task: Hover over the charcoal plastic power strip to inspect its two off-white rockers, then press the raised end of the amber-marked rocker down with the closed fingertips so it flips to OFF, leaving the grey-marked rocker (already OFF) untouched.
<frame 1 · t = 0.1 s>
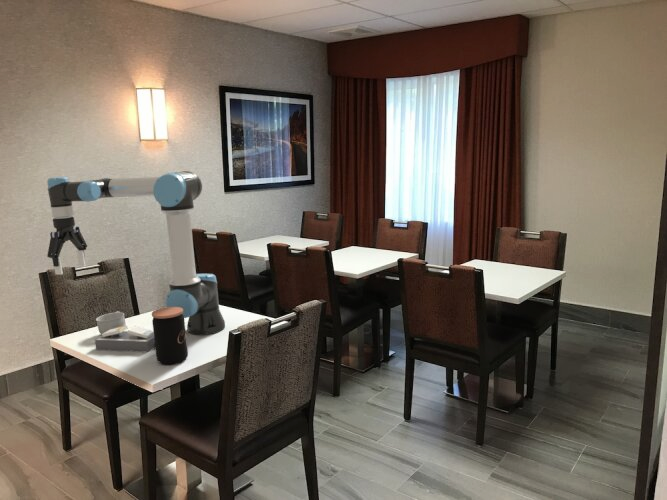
hand: (71, 270, 216), 28 cm above the table, fingers open, 13 cm apart
power strip: (129, 345, 209), on the table
rocker amber: (114, 330, 209), point 6 cm above the table, hinge at 14.0°
teacup: (114, 333, 224), on the table
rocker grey: (140, 331, 206), point 6 cm above the table, hinge at -14.0°
coffee jar: (172, 360, 193), on the table
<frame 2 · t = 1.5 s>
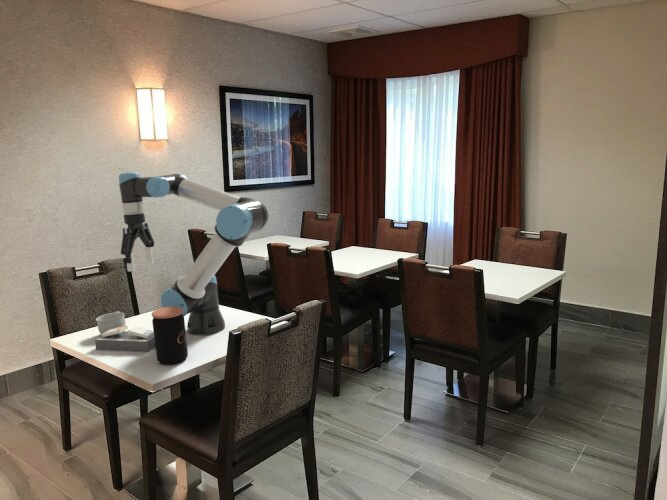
hand: (140, 267, 213), 28 cm above the table, fingers open, 13 cm apart
nothing on the table moved.
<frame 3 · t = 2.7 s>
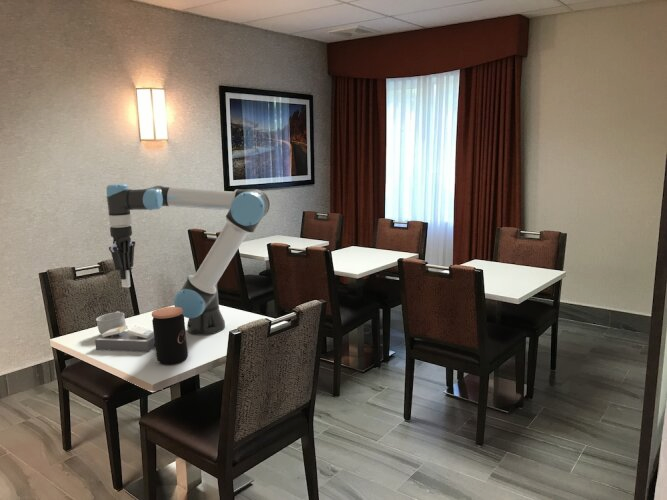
hand: (126, 286, 208), 22 cm above the table, fingers closed
nothing on the table moved.
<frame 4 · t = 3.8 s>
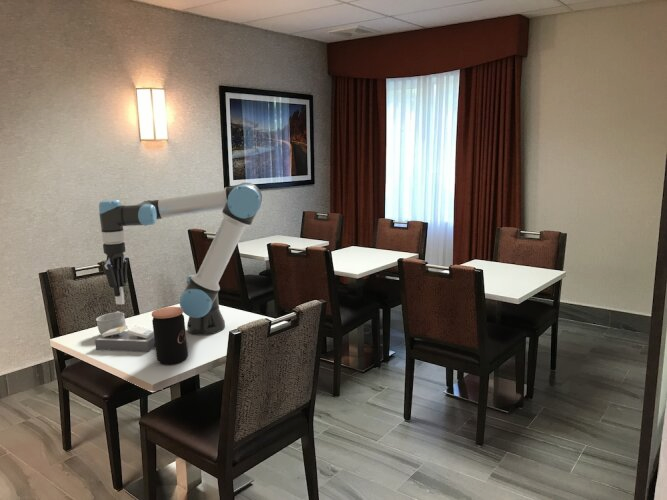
hand: (120, 303, 205), 17 cm above the table, fingers closed
nothing on the table moved.
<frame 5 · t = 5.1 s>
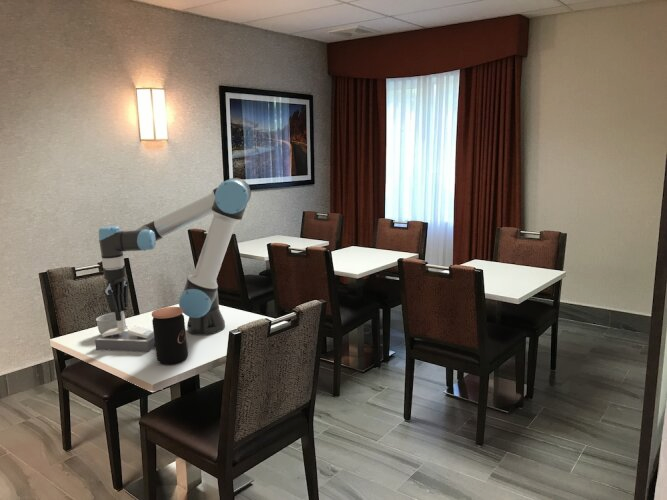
hand: (121, 327, 208), 7 cm above the table, fingers closed
rocker amber: (114, 330, 209), point 6 cm above the table, hinge at 13.1°, touching gripper
everything else where it was.
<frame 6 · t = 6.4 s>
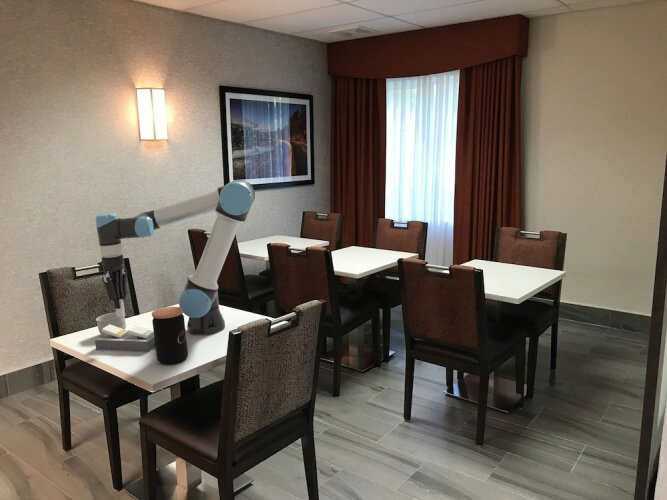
hand: (121, 315, 207), 12 cm above the table, fingers closed
rocker amber: (115, 330, 209), point 6 cm above the table, hinge at -17.7°
everything else where it was.
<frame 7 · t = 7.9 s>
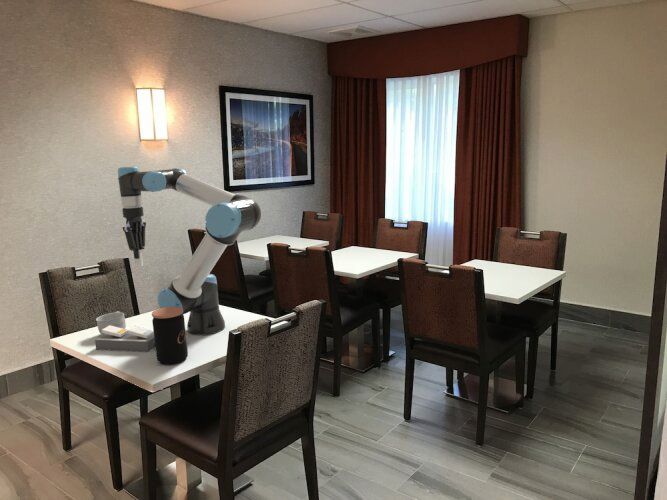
hand: (139, 266, 215), 28 cm above the table, fingers closed
rocker amber: (115, 330, 209), point 6 cm above the table, hinge at -11.7°
everything else where it was.
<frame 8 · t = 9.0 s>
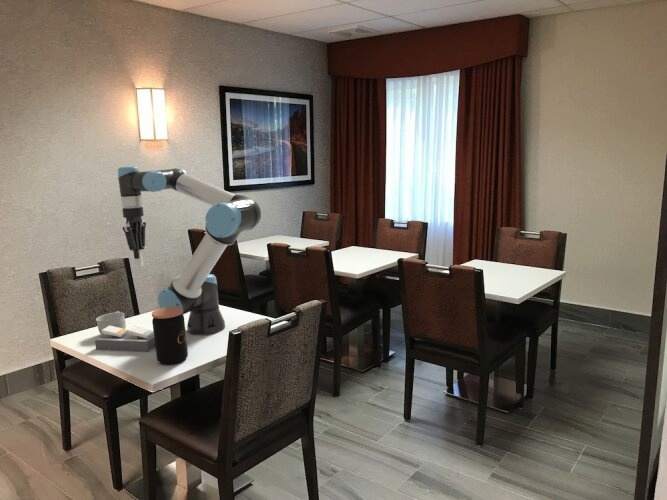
hand: (139, 266, 215), 28 cm above the table, fingers closed
rocker amber: (115, 330, 209), point 6 cm above the table, hinge at -10.4°
everything else where it was.
at the end: rocker amber at -10° (first picture: +14°); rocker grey at -14° (first picture: -14°) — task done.
